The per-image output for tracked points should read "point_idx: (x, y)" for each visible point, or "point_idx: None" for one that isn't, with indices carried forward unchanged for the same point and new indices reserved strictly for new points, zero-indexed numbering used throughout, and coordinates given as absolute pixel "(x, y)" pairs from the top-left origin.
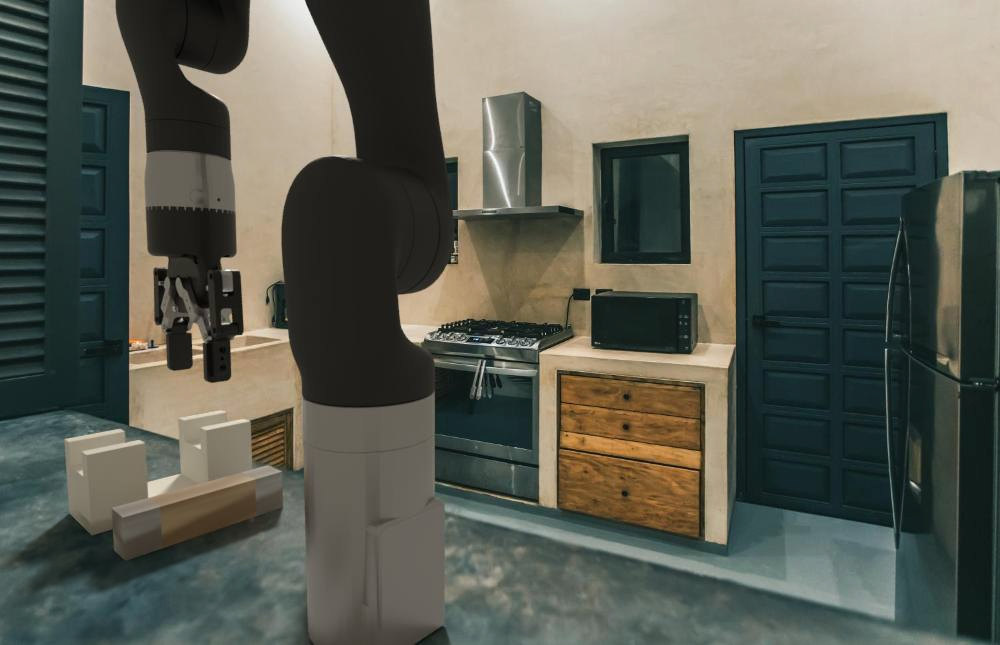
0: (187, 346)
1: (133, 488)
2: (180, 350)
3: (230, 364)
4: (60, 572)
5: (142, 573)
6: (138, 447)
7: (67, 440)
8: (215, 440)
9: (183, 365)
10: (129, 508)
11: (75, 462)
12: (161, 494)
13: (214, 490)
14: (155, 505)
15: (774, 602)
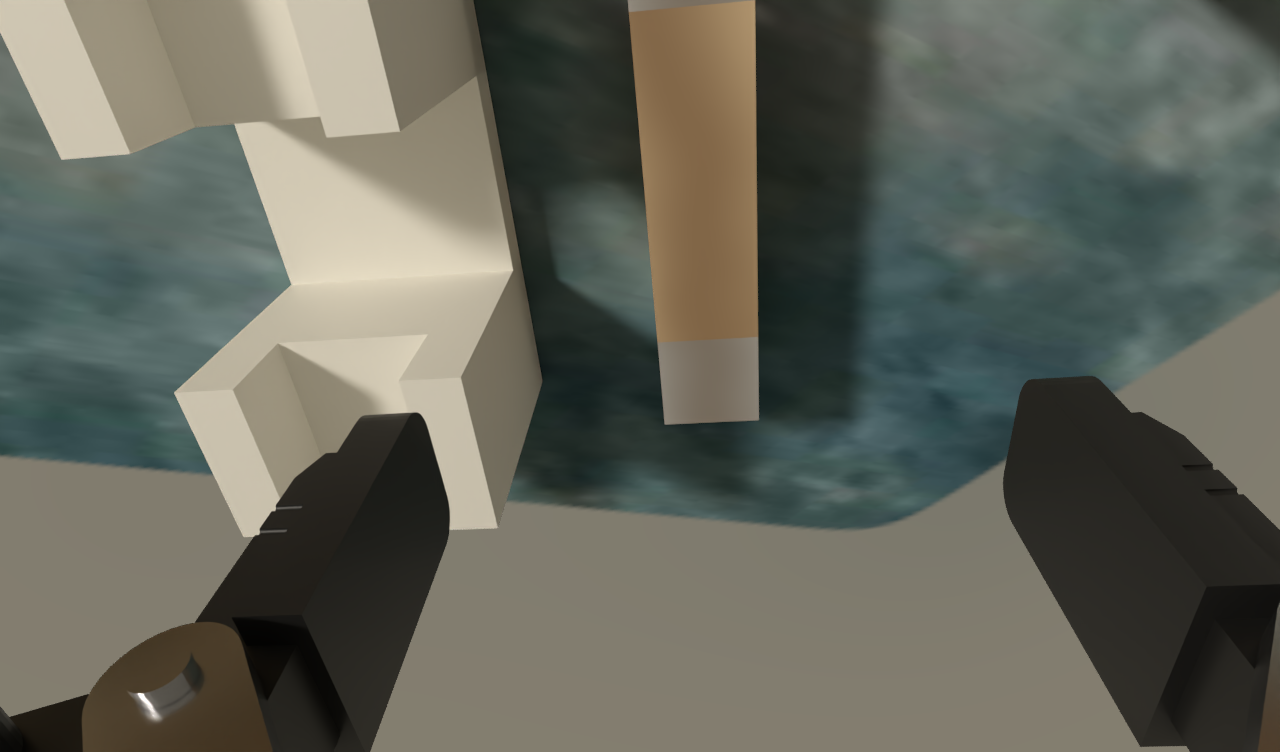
0: (363, 546)
1: (505, 338)
2: (391, 569)
3: (1150, 435)
4: (700, 453)
5: (845, 347)
6: (468, 391)
7: None
8: (408, 72)
9: (427, 472)
10: (706, 396)
11: None
12: (657, 308)
13: (752, 172)
14: (738, 344)
15: None
